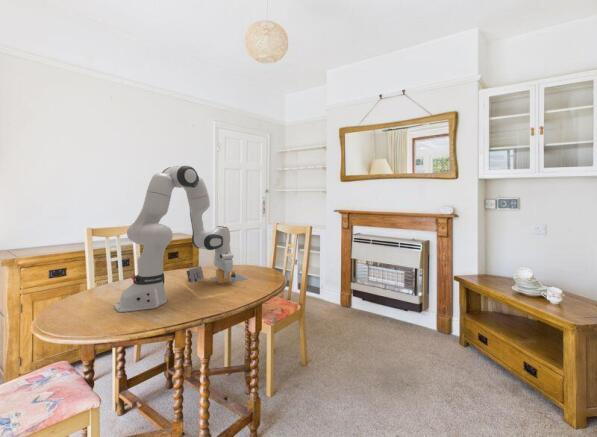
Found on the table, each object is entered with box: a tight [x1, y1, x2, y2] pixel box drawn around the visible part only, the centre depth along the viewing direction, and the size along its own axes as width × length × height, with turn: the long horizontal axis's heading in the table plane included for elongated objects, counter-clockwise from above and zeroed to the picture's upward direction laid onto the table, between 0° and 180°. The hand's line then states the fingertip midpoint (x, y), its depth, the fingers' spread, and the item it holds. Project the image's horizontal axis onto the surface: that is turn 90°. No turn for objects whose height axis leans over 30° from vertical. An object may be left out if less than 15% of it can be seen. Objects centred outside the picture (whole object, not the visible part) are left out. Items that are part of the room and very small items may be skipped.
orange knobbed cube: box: [215, 268, 231, 284], centre depth 187 cm, size 6×6×8 cm
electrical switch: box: [186, 265, 205, 283], centre depth 189 cm, size 9×5×9 cm, turn 152°
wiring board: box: [210, 269, 249, 285], centre depth 192 cm, size 18×16×6 cm
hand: (222, 276), depth 187 cm, fingers closed on orange knobbed cube, 6 cm apart
